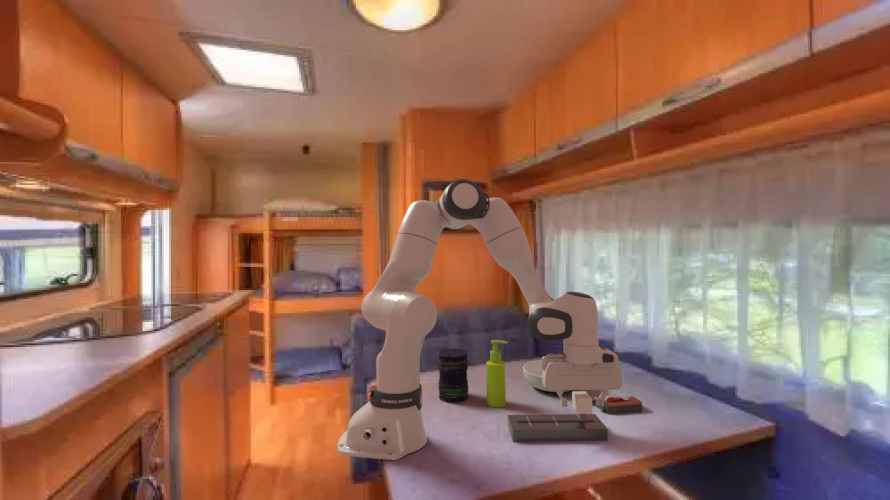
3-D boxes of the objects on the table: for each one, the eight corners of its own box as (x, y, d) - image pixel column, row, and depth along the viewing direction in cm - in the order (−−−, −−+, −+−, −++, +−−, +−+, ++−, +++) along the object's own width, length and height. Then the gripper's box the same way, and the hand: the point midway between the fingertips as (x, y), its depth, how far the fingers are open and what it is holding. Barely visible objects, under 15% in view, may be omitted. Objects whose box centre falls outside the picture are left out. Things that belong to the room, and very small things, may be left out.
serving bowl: (523, 397, 132) (523, 376, 132) (523, 376, 152) (522, 358, 152) (589, 400, 128) (589, 379, 128) (580, 379, 148) (579, 360, 148)
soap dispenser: (508, 408, 123) (507, 343, 123) (486, 406, 124) (484, 342, 124) (509, 400, 129) (508, 338, 128) (487, 399, 130) (486, 338, 130)
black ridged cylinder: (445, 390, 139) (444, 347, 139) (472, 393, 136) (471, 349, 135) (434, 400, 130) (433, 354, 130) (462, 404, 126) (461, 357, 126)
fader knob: (578, 424, 104) (577, 398, 103) (572, 416, 109) (572, 391, 108) (592, 424, 103) (591, 398, 103) (585, 416, 108) (585, 391, 108)
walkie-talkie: (630, 402, 127) (570, 405, 125) (630, 388, 127) (570, 391, 125) (647, 413, 118) (583, 417, 116) (647, 398, 118) (583, 402, 116)
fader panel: (512, 441, 102) (512, 429, 102) (507, 425, 111) (507, 414, 111) (607, 440, 101) (607, 428, 101) (595, 424, 110) (594, 413, 110)
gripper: (544, 357, 103) (545, 410, 103) (624, 356, 103) (625, 410, 103) (538, 351, 109) (539, 401, 109) (614, 349, 109) (615, 400, 109)
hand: (581, 405), depth 106 cm, fingers open, 8 cm apart
